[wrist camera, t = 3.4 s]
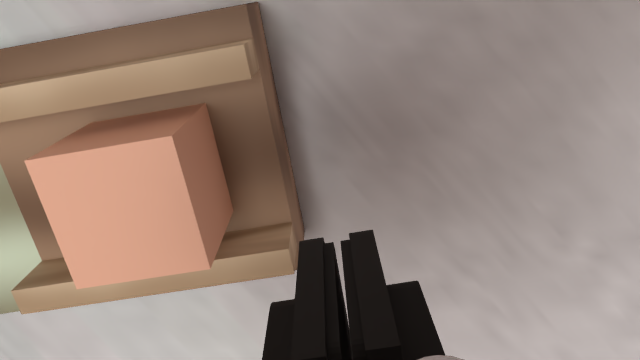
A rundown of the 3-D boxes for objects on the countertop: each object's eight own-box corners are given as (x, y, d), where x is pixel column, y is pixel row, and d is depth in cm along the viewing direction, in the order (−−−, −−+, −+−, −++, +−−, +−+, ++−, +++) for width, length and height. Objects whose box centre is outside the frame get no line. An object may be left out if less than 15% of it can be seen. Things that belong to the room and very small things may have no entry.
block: (90, 122, 21) (24, 160, 16) (205, 102, 20) (171, 135, 16) (127, 227, 23) (76, 289, 18) (233, 210, 22) (210, 269, 18)
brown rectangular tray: (-218, 89, 24) (-398, 122, 18) (257, 1, 23) (235, 5, 17) (-103, 293, 29) (-217, 374, 22) (304, 230, 27) (300, 299, 21)
